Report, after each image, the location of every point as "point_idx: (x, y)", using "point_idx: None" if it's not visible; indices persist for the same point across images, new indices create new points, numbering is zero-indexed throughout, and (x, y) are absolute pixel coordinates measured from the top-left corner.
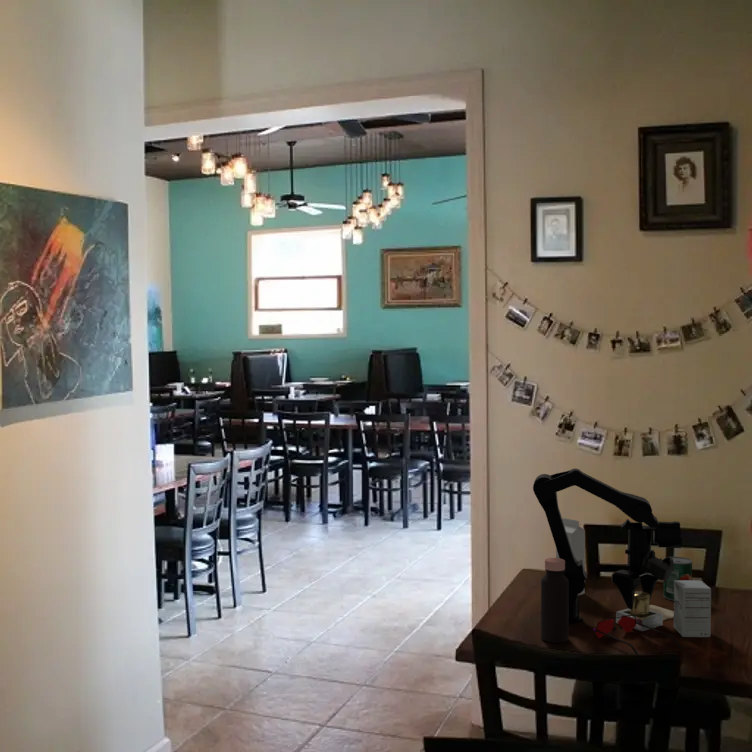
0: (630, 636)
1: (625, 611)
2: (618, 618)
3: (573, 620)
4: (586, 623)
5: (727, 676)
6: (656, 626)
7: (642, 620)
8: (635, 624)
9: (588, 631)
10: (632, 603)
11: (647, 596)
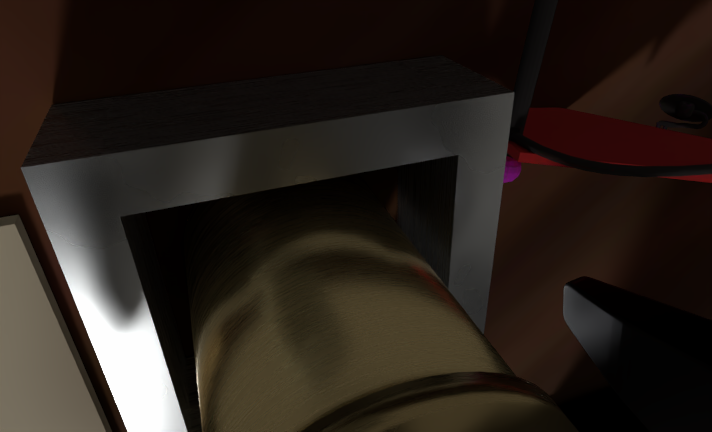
0: (632, 3)
1: None
2: None
3: (620, 398)
4: (571, 364)
5: None
6: (188, 89)
7: (502, 90)
8: None
9: (695, 243)
10: (660, 313)
11: (423, 425)
